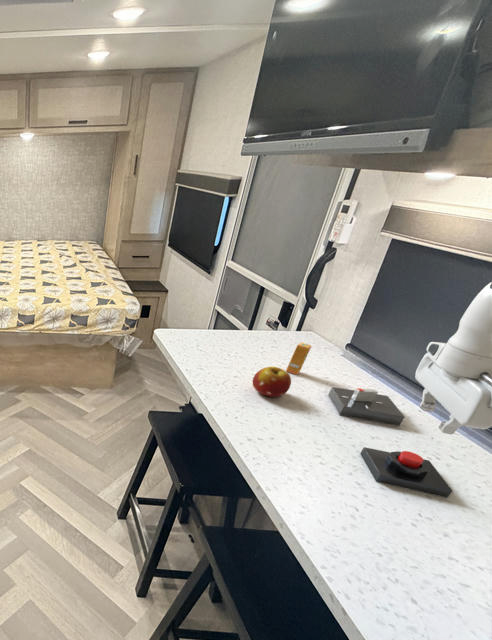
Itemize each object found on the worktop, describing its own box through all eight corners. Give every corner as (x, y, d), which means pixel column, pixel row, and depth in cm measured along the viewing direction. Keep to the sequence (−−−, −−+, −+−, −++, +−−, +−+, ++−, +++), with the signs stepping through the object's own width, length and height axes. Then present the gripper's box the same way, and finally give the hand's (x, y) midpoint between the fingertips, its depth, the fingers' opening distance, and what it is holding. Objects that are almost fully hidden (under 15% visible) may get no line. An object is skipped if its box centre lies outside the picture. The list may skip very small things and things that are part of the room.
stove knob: (369, 399, 111) (374, 388, 110) (373, 401, 110) (378, 391, 109) (350, 398, 112) (356, 387, 110) (354, 400, 111) (359, 390, 109)
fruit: (265, 402, 116) (274, 379, 112) (242, 386, 123) (249, 364, 120) (293, 399, 117) (303, 375, 113) (268, 383, 125) (277, 361, 121)
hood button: (415, 459, 89) (419, 453, 88) (422, 469, 86) (427, 463, 85) (394, 455, 90) (398, 449, 89) (401, 465, 87) (405, 459, 87)
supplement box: (297, 375, 129) (308, 348, 124) (285, 371, 132) (296, 344, 127) (300, 372, 131) (312, 345, 126) (288, 368, 133) (299, 341, 129)
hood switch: (424, 467, 92) (433, 454, 90) (447, 498, 84) (457, 484, 82) (359, 453, 96) (367, 440, 94) (375, 482, 88) (384, 468, 86)
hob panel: (382, 404, 114) (388, 395, 113) (399, 426, 105) (405, 416, 104) (328, 395, 119) (332, 386, 117) (339, 415, 110) (344, 405, 109)
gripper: (533, 392, 67) (485, 455, 73) (464, 344, 83) (430, 399, 90) (482, 385, 69) (440, 446, 76) (425, 339, 86) (395, 393, 92)
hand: (434, 420), depth 83 cm, fingers open, 7 cm apart
